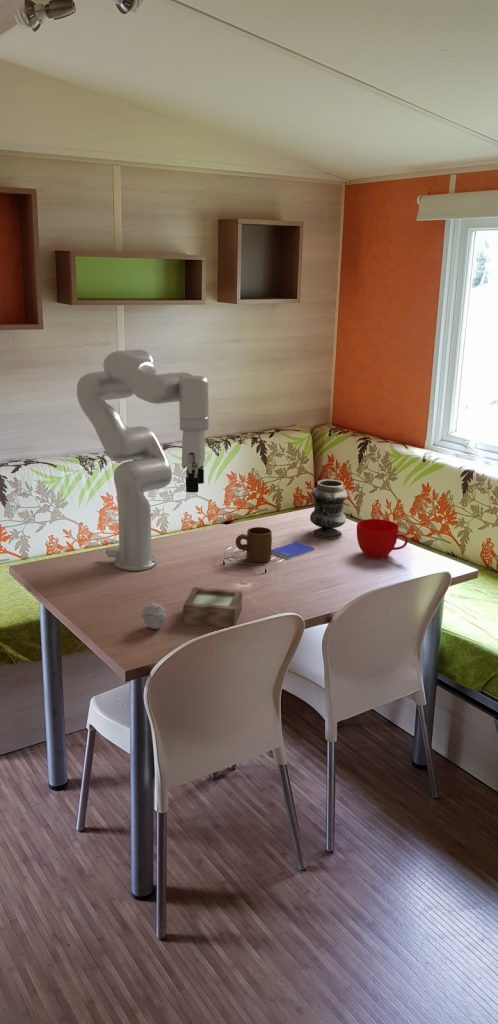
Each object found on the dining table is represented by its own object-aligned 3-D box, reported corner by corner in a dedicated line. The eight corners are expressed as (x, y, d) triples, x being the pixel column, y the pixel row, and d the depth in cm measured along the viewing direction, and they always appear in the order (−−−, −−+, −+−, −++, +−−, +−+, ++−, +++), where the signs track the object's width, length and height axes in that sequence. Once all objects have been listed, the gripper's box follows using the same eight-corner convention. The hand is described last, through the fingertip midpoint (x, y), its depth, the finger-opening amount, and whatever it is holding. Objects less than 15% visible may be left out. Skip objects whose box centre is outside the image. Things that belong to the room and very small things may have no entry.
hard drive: (288, 556, 259) (314, 547, 268) (269, 549, 264) (295, 541, 273) (288, 561, 259) (314, 552, 268) (268, 554, 265) (294, 545, 273)
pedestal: (183, 623, 212) (183, 604, 211) (193, 605, 224) (193, 587, 222) (234, 628, 211) (234, 609, 209) (241, 609, 222) (242, 590, 221)
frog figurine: (138, 633, 207) (137, 606, 205) (147, 621, 213) (146, 595, 211) (161, 635, 206) (161, 609, 204) (170, 624, 212) (170, 598, 210)
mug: (241, 568, 251) (242, 538, 249) (229, 560, 258) (229, 530, 255) (275, 561, 257) (276, 532, 255) (262, 554, 264) (263, 525, 261)
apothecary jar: (334, 542, 276) (337, 489, 271) (302, 535, 282) (305, 483, 277) (351, 532, 286) (354, 481, 280) (320, 526, 292) (322, 476, 287)
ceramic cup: (395, 568, 254) (398, 537, 251) (347, 556, 263) (349, 525, 261) (415, 557, 264) (417, 527, 261) (367, 545, 273) (369, 516, 270)
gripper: (185, 418, 228) (186, 479, 233) (173, 429, 212) (175, 495, 216) (212, 418, 228) (213, 480, 232) (203, 430, 211) (204, 496, 216)
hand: (195, 487), depth 224 cm, fingers open, 9 cm apart
